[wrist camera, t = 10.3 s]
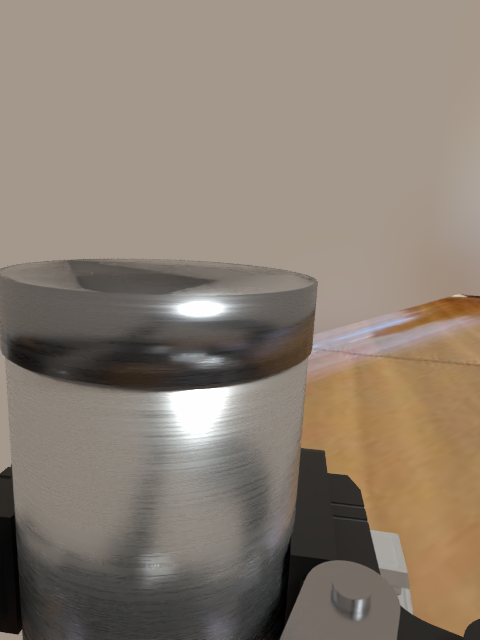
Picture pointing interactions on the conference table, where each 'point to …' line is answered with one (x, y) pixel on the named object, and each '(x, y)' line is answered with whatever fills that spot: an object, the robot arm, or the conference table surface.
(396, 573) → the white blocky piece
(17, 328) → the metal tin
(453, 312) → the conference table surface
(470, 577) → the conference table surface
